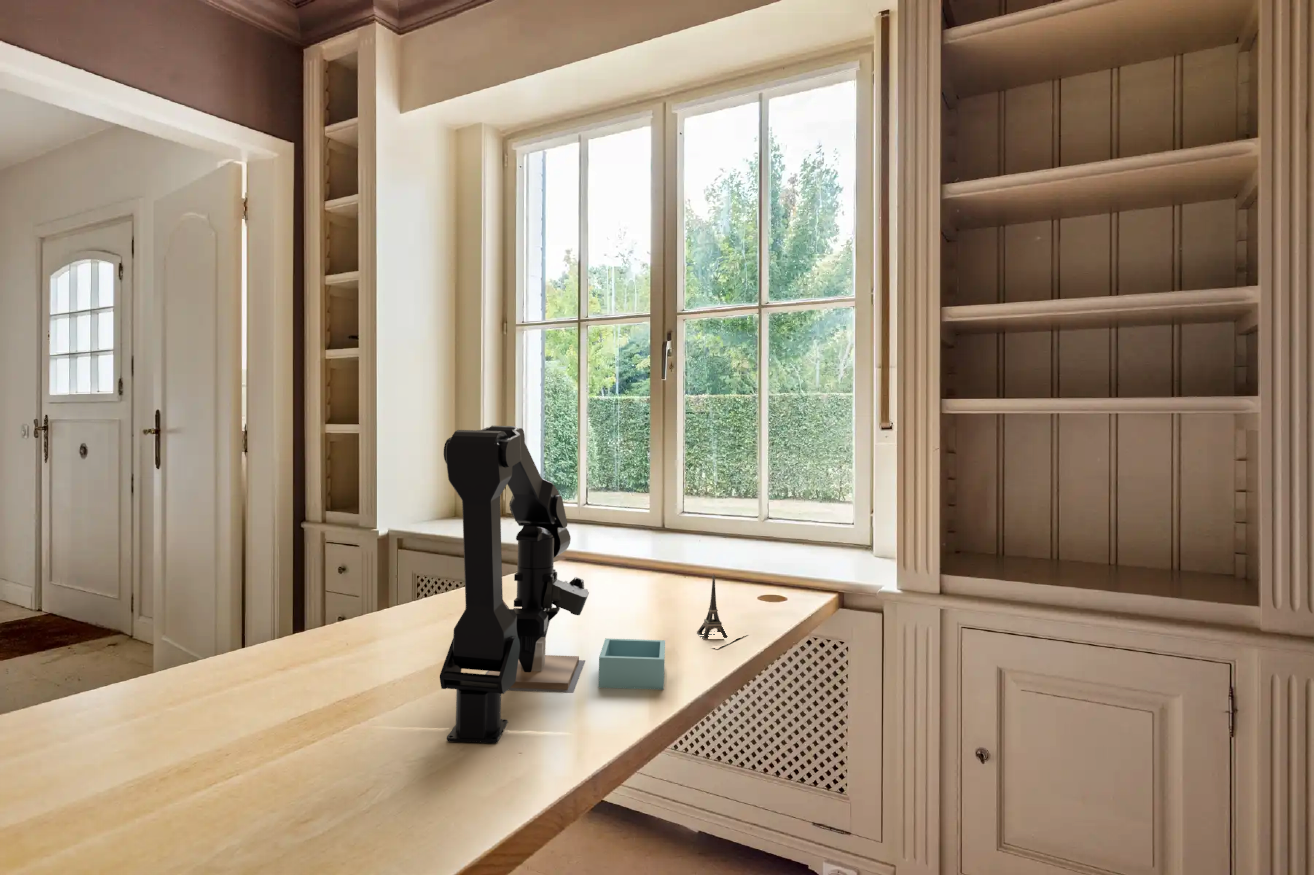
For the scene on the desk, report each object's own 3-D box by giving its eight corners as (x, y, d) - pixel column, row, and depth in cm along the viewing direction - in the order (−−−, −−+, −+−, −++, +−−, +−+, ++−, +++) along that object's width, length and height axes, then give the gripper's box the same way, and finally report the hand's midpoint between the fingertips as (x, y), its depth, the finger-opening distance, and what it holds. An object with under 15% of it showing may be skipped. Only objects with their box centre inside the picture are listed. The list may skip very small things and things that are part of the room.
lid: (567, 689, 112) (568, 653, 112) (482, 687, 112) (483, 651, 112) (578, 662, 125) (579, 629, 125) (502, 659, 125) (503, 627, 125)
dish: (663, 692, 113) (664, 659, 113) (598, 689, 113) (599, 657, 113) (664, 670, 123) (665, 640, 123) (604, 668, 123) (605, 638, 123)
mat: (573, 695, 111) (573, 692, 111) (474, 691, 111) (474, 689, 111) (585, 662, 126) (585, 660, 126) (497, 659, 126) (497, 657, 126)
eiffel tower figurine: (718, 653, 134) (719, 580, 134) (671, 643, 140) (672, 573, 140) (755, 634, 147) (756, 568, 147) (710, 626, 153) (712, 561, 152)
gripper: (578, 579, 108) (575, 684, 109) (592, 556, 127) (590, 646, 127) (502, 577, 109) (500, 682, 109) (527, 554, 127) (525, 644, 128)
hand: (533, 662), depth 118 cm, fingers open, 9 cm apart
